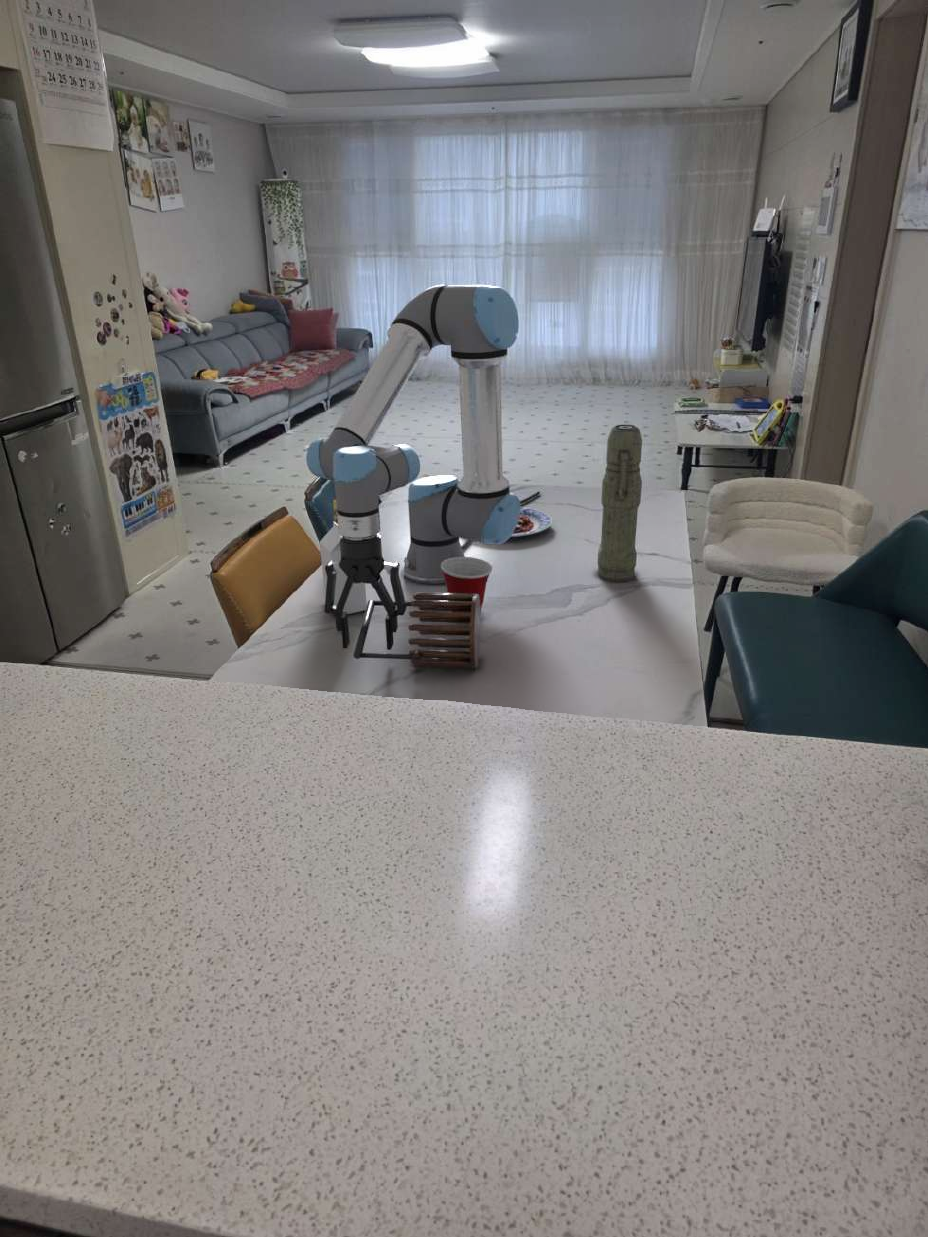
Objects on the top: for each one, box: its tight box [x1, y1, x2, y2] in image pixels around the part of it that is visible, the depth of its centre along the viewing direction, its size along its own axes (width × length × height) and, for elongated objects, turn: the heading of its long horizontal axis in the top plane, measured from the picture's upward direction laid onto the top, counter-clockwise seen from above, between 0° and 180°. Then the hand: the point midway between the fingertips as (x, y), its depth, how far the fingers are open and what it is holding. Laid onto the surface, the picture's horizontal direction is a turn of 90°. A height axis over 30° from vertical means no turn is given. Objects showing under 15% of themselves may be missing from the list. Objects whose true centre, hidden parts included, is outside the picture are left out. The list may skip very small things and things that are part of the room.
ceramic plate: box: [510, 506, 553, 538], centre depth 227 cm, size 26×26×3 cm
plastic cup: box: [441, 556, 493, 614], centre depth 173 cm, size 11×11×12 cm
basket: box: [353, 592, 482, 670], centre depth 154 cm, size 16×22×14 cm
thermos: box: [597, 424, 643, 583], centre depth 188 cm, size 9×12×35 cm
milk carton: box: [319, 520, 368, 615], centre depth 177 cm, size 7×7×19 cm
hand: (368, 645), depth 159 cm, fingers open, 8 cm apart
